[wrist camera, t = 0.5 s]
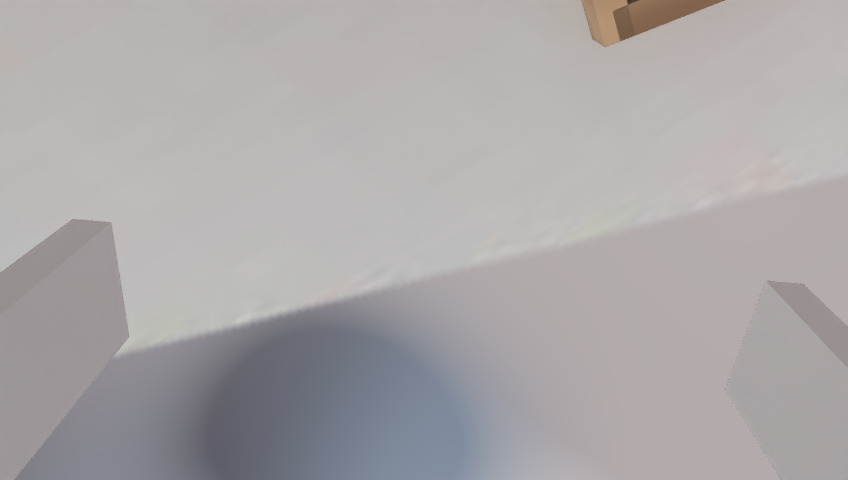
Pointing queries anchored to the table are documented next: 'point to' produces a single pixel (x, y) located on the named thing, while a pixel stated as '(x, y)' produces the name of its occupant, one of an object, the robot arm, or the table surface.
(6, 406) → the robot arm
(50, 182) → the table surface
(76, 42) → the table surface
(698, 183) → the table surface
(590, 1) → the wooden l-shaped wall
